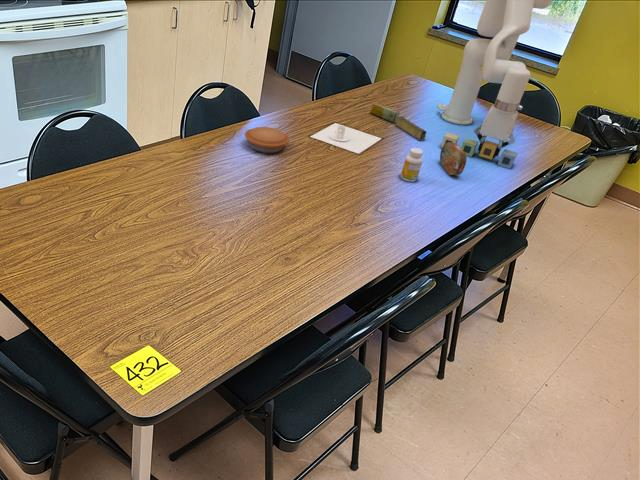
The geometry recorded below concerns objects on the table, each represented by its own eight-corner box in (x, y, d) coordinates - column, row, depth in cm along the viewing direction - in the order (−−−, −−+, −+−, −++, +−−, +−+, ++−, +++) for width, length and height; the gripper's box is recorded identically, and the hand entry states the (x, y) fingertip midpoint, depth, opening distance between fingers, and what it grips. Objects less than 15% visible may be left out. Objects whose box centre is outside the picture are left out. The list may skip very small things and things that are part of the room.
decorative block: (424, 140, 216) (427, 131, 214) (419, 140, 215) (422, 131, 213) (400, 124, 227) (402, 116, 225) (395, 125, 226) (397, 116, 224)
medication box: (397, 122, 229) (400, 112, 226) (393, 123, 227) (397, 113, 225) (373, 112, 235) (376, 102, 233) (369, 112, 233) (373, 102, 231)
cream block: (440, 147, 212) (444, 135, 209) (443, 144, 215) (447, 132, 212) (452, 151, 210) (456, 139, 207) (455, 147, 213) (459, 135, 210)
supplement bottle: (400, 173, 190) (408, 145, 184) (417, 176, 190) (425, 149, 184) (399, 179, 186) (407, 151, 180) (416, 183, 185) (424, 155, 179)
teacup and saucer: (335, 131, 215) (337, 120, 212) (354, 137, 211) (356, 127, 209) (324, 137, 209) (326, 126, 206) (343, 144, 205) (346, 133, 203)
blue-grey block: (497, 164, 204) (502, 152, 201) (499, 160, 207) (504, 148, 204) (510, 168, 202) (515, 156, 199) (512, 164, 206) (517, 152, 203)
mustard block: (478, 155, 206) (483, 143, 203) (481, 151, 209) (486, 140, 206) (491, 159, 204) (496, 147, 201) (494, 155, 208) (499, 143, 205)
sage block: (458, 153, 209) (463, 141, 206) (462, 149, 212) (466, 137, 210) (471, 157, 207) (475, 145, 205) (474, 153, 211) (478, 141, 208)
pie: (292, 156, 193) (294, 142, 190) (247, 155, 190) (249, 141, 187) (282, 138, 205) (284, 124, 202) (240, 136, 202) (241, 123, 199)
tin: (437, 160, 202) (444, 137, 197) (445, 160, 202) (453, 138, 197) (452, 179, 190) (461, 156, 185) (461, 180, 191) (470, 156, 186)
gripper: (533, 109, 195) (512, 159, 206) (484, 96, 201) (466, 145, 212) (529, 115, 190) (508, 165, 201) (478, 101, 196) (461, 151, 207)
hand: (486, 154), depth 207 cm, fingers closed on mustard block, 4 cm apart
